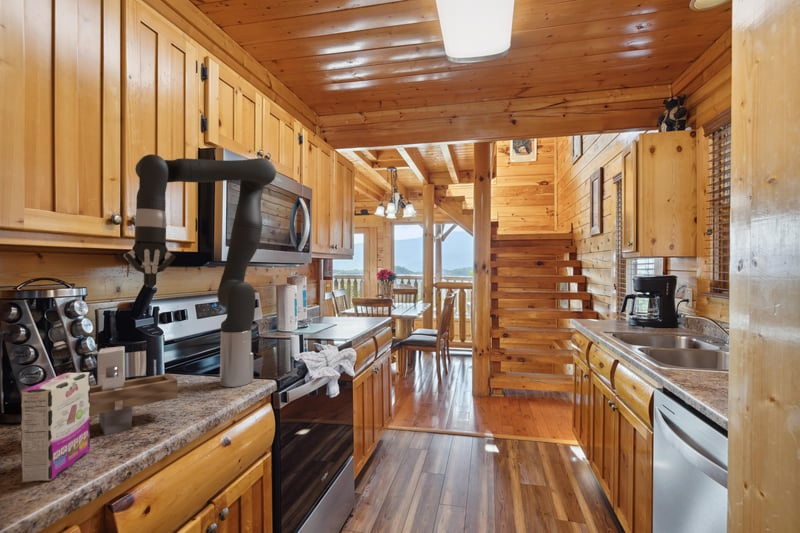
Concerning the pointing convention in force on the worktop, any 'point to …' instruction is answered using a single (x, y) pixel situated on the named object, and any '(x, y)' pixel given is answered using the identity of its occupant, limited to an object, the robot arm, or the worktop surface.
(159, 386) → the beam
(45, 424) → the candy bar box
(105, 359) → the skincare box
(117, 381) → the rider
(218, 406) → the worktop surface
